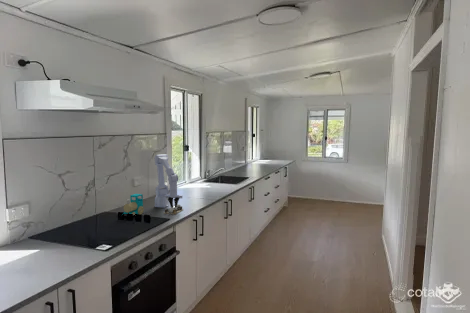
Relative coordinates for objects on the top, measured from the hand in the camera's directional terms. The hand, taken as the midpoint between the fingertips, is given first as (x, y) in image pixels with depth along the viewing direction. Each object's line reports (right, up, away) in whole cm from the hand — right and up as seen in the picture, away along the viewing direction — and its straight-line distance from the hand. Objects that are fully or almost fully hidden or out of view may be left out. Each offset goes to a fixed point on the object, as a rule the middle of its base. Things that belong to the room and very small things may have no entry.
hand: (173, 206), depth 242 cm
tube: (-1, -1, 0) cm, 1 cm away
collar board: (0, -4, +1) cm, 4 cm away
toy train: (-29, -5, -10) cm, 31 cm away
